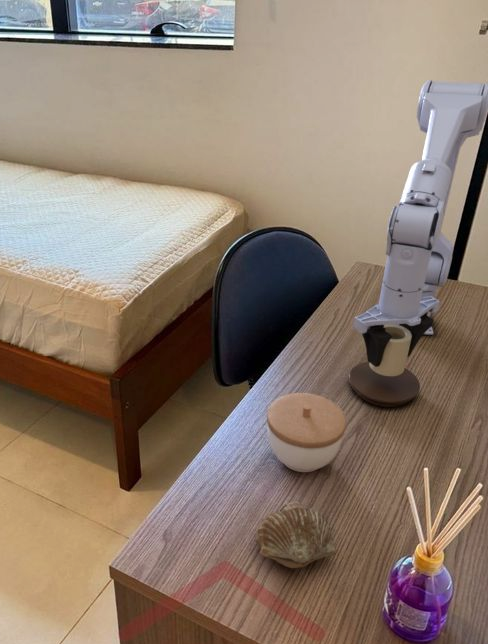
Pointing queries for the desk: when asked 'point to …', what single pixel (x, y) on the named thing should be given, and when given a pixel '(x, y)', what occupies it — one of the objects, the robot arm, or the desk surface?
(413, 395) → the stand
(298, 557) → the seashell
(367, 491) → the desk surface
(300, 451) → the trinket box
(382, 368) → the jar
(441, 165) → the robot arm
